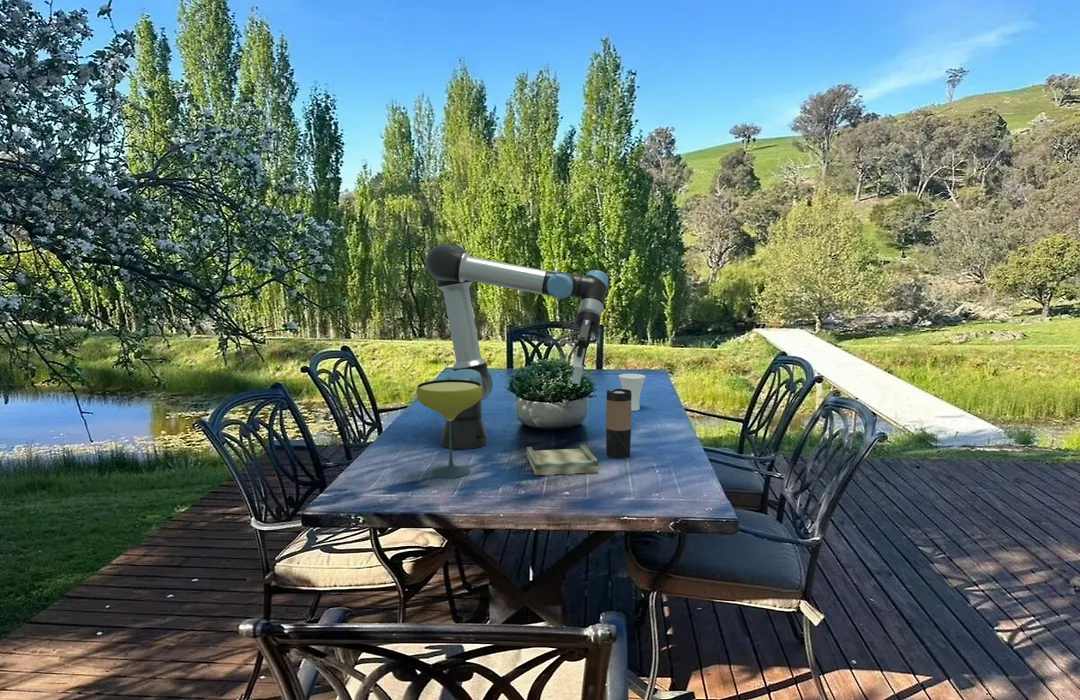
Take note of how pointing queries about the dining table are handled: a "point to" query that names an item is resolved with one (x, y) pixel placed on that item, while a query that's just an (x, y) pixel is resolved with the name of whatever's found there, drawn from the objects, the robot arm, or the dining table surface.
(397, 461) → the dining table surface
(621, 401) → the travel mug
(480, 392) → the cocktail glass
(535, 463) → the tray
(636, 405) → the cup
